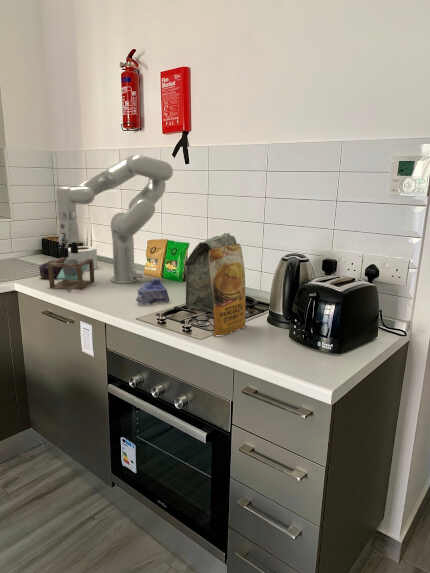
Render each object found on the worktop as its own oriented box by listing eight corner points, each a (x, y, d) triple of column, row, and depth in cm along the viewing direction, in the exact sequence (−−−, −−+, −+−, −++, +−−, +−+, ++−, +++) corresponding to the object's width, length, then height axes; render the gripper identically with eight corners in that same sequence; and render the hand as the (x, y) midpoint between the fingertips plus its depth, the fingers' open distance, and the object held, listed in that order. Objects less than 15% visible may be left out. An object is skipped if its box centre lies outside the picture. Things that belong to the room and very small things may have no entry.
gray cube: (79, 268, 197) (76, 259, 193) (75, 275, 193) (72, 266, 190) (68, 267, 197) (65, 259, 194) (64, 275, 194) (61, 266, 190)
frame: (94, 281, 203) (93, 258, 201) (81, 289, 189) (80, 265, 187) (64, 280, 205) (63, 257, 202) (49, 288, 191) (47, 263, 188)
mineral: (157, 275, 180) (171, 278, 173) (161, 296, 183) (174, 300, 175) (126, 284, 172) (139, 287, 164) (130, 306, 174) (143, 311, 167)
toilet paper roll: (60, 269, 229) (59, 248, 226) (84, 264, 241) (83, 244, 239) (80, 273, 221) (79, 252, 218) (103, 268, 233) (102, 247, 230)
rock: (39, 280, 210) (49, 283, 204) (34, 263, 208) (45, 265, 201) (61, 272, 218) (72, 275, 212) (57, 256, 216) (68, 258, 209)
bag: (209, 294, 186) (210, 230, 179) (243, 300, 179) (246, 233, 172) (181, 308, 166) (180, 236, 160) (218, 315, 159) (220, 240, 152)
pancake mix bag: (199, 334, 140) (200, 247, 133) (237, 320, 154) (240, 241, 147) (215, 340, 136) (217, 250, 129) (253, 325, 149) (256, 243, 142)
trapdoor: (88, 264, 200) (87, 262, 199) (79, 280, 192) (79, 278, 191) (66, 263, 201) (65, 262, 201) (57, 279, 193) (56, 277, 193)
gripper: (66, 218, 180) (69, 259, 184) (83, 214, 196) (86, 252, 201) (49, 217, 180) (52, 258, 185) (67, 213, 197) (70, 251, 201)
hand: (69, 255), depth 193 cm, fingers open, 9 cm apart
